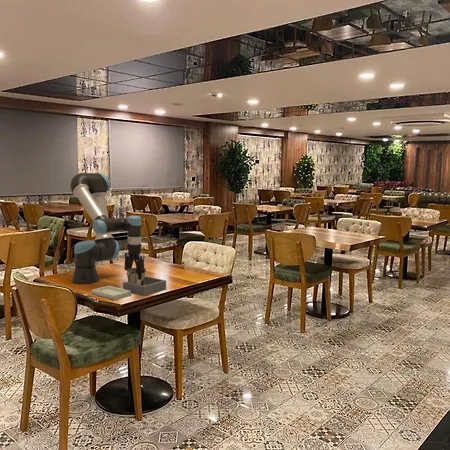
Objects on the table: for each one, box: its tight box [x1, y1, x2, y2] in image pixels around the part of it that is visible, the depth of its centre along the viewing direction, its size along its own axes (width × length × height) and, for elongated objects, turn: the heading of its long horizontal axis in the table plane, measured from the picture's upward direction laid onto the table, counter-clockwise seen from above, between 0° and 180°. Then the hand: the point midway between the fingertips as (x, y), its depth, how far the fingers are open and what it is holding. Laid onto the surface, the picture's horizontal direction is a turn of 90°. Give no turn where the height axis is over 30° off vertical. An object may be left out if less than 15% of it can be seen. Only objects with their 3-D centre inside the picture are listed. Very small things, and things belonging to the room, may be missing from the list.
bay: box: [122, 275, 167, 297], centre depth 242 cm, size 16×17×5 cm
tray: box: [91, 285, 132, 301], centre depth 231 cm, size 17×11×2 cm, turn 56°
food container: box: [125, 267, 147, 286], centre depth 247 cm, size 12×6×10 cm, turn 141°
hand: (134, 283), depth 247 cm, fingers closed on food container, 6 cm apart
